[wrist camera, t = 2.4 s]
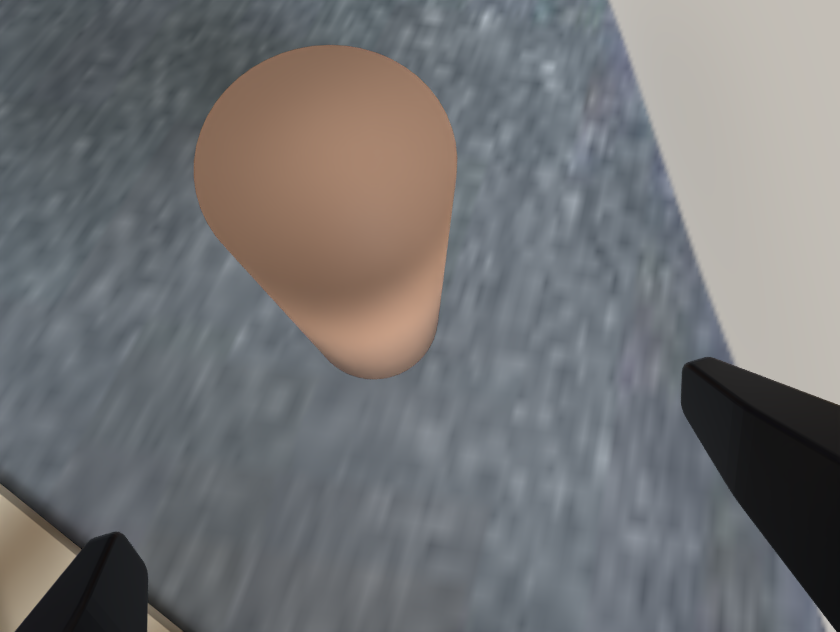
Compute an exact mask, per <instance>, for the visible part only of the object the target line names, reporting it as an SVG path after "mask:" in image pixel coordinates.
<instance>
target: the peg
mask: <svg viewBox="0 0 840 632" xmlns="http://www.w3.org/2000/svg"><path fill="white" fill-rule="evenodd" d="M456 173H457V152H456V142H455V138H454V134H453V130H452V127H451V124H450V122H449V119H448V117H447V114H446V112H445V111H444V109H443V107H442V105H441V104H440V102H439V100H438V99H437V97H436V96H435V95H434V94H433V92H432V91H431V90H430V88H429V87H428V86H427V85H426V84H425V83H424V82H423V81H422V80H421V79H420V78H419V77H418V76H416V75H415V74H414V73H412V72H411V71H410V70H408V69H407V68H406V67H404V66H402V65H401V64H399V63H397V62H396V61H394V60H392V59H390V58H388V57H385V56H383V55H380V54H378V53H375V52H372V51H368V50H365V49H361V48H356V47H350V46H340V45H320V46H310V47H304V48H299V49H294V50H291V51H288V52H284V53H281V54H279V55H276V56H274V57H272V58H269V59H267V60H265V61H263V62H261V63H260V64H258V65H256V66H254V67H253V68H251V69H250V70H248V71H247V72H246V73H244V74H243V75H242V76H240V77H239V78H238V79H237V80H236V81H235V82H233V83H232V84H231V85H230V86H229V87H228V88H227V89H226V90H225V92H224V93H223V94H222V95H221V96H220V98H219V99H218V100H217V101H216V103H215V104H214V106H213V108H212V109H211V111H210V112H209V114H208V116H207V118H206V120H205V122H204V124H203V127H202V129H201V131H200V135H199V138H198V142H197V145H196V151H195V158H194V182H195V189H196V195H197V198H198V201H199V205H200V208H201V210H202V213H203V215H204V217H205V219H206V221H207V223H208V225H209V226H210V228H211V230H212V231H213V233H214V234H215V236H216V237H217V238H218V239H219V241H220V242H221V243H222V244H223V245H224V246H225V247H226V249H227V250H228V251H229V252H230V253H231V254H232V255H233V256H234V257H235V258H236V260H237V261H238V262H239V263H240V264H241V265H242V266H243V267H244V268H245V269H246V271H247V272H248V273H249V274H250V275H251V276H252V277H253V278H254V279H255V280H256V281H257V283H258V284H259V285H260V286H261V287H262V288H263V289H264V290H265V291H266V292H267V294H268V295H269V296H270V297H271V298H272V299H273V300H274V301H275V302H276V303H277V304H278V306H279V307H280V308H281V309H282V310H283V311H284V312H285V313H286V314H287V315H288V317H289V318H290V319H291V320H292V321H293V322H294V323H295V324H296V325H297V326H298V327H299V329H300V330H301V331H302V332H303V333H304V334H305V335H306V336H307V337H308V338H309V340H310V341H311V342H312V343H313V344H314V345H315V346H316V347H317V348H318V349H319V350H320V352H321V353H322V354H323V355H324V356H325V357H326V358H327V359H328V360H329V361H330V362H331V363H332V364H333V365H334V366H335V367H337V368H338V369H340V370H342V371H343V372H345V373H347V374H350V375H352V376H355V377H359V378H364V379H383V378H388V377H392V376H395V375H398V374H400V373H402V372H404V371H406V370H408V369H409V368H411V367H412V366H414V365H415V364H416V363H417V362H418V361H419V360H420V359H421V358H422V357H423V356H424V355H425V354H426V352H427V351H428V349H429V348H430V346H431V344H432V342H433V340H434V337H435V334H436V330H437V324H438V317H439V309H440V301H441V293H442V285H443V277H444V269H445V261H446V253H447V245H448V237H449V229H450V222H451V214H452V206H453V198H454V190H455V182H456Z"/></svg>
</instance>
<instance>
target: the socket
mask: <svg viewBox="0 0 840 632" xmlns="http://www.w3.org/2000/svg"><path fill="white" fill-rule="evenodd" d="M81 550H82V549H81V548H79V547H78V546H77V545H76V544H74V543H73V542H72V541H71V540H69V539H68V538H67V537H66V536H64V535H63V534H62V533H61V532H60V531H58V530H57V529H56V528H55V527H53V526H52V525H51V524H50V523H48V522H47V521H46V520H45V519H43V518H42V517H41V516H40V515H38V514H37V513H36V512H35V511H34V510H32V509H31V508H30V507H29V506H27V505H26V504H25V503H24V502H22V501H21V500H20V499H19V498H17V497H16V496H15V495H14V494H13V493H11V492H10V491H9V490H8V489H6V488H5V487H4V486H3V485H1V484H0V632H14V631H15V630H16V629H17V628H18V627H19V625H20V624H21V623H22V622H23V620H24V619H25V618H26V617H27V616H28V614H29V613H30V612H31V611H32V609H33V608H34V607H35V606H36V605H37V603H38V602H39V601H40V600H41V598H42V597H43V596H44V595H45V594H46V592H47V591H48V590H49V589H50V587H51V586H52V585H53V584H54V583H55V581H56V580H57V579H58V578H59V576H60V575H61V574H62V573H63V572H64V570H65V569H66V568H67V567H68V565H69V564H70V563H71V562H72V561H73V559H74V558H75V557H76V556H77V555H78V553H79V552H80V551H81ZM147 632H183V631H182V630H181V629H179V628H178V627H177V626H176V625H175V624H173V623H172V622H171V621H170V620H168V619H167V618H166V617H165V616H163V615H162V614H161V613H160V612H158V611H157V610H156V609H155V608H154V607H152V606H151V605H150V604H149V603H148V622H147Z"/></svg>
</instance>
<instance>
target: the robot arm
mask: <svg viewBox="0 0 840 632" xmlns="http://www.w3.org/2000/svg"><path fill="white" fill-rule="evenodd" d="M681 406H682V410H683V413H684V415H685V417H686V419H687V420H688V422H689V424H690V425H691V427H692V429H693V430H694V432H695V433H696V435H697V437H698V438H699V440H700V442H701V443H702V445H703V447H704V448H705V450H706V452H707V453H708V455H709V457H710V458H711V460H712V462H713V463H714V465H715V467H716V468H717V470H718V472H719V473H720V475H721V477H722V478H723V480H724V482H725V483H726V485H727V486H728V488H729V489H730V491H731V493H732V494H733V496H734V497H735V498H736V500H737V501H738V503H739V504H740V505H741V507H742V508H743V509H744V511H745V512H746V513H747V515H748V516H749V517H750V519H751V520H752V521H753V523H754V524H755V525H756V527H757V528H758V529H759V530H760V532H761V533H762V534H763V536H764V537H765V538H766V540H767V541H768V542H769V544H770V545H771V546H772V548H773V549H774V550H775V551H776V553H777V554H778V555H779V557H780V558H781V559H782V561H783V562H784V563H785V565H786V566H787V567H788V569H789V570H790V571H791V572H792V574H793V575H794V576H795V578H796V579H797V580H798V582H799V583H800V584H801V586H802V587H803V588H804V590H805V591H806V592H807V593H808V595H809V596H810V597H811V599H812V600H813V601H814V603H815V604H816V605H817V607H818V608H819V609H820V611H821V612H822V613H823V614H824V616H825V617H826V618H827V620H828V621H829V622H830V624H831V625H832V626H833V628H834V629H835V630H836V632H840V405H838V404H835V403H832V402H830V401H827V400H824V399H821V398H819V397H816V396H814V395H811V394H808V393H806V392H803V391H800V390H798V389H795V388H792V387H790V386H787V385H784V384H782V383H779V382H776V381H774V380H771V379H768V378H766V377H763V376H761V375H758V374H755V373H752V372H750V371H747V370H745V369H742V368H739V367H737V366H734V365H731V364H729V363H726V362H723V361H721V360H718V359H715V358H712V357H704V358H701V359H697V360H694V361H691V362H688V363H686V364H685V365H684V366H683V368H682V383H681ZM147 622H148V573H147V569H146V566H145V564H144V562H143V560H142V559H141V557H140V556H139V555H138V553H137V552H136V551H135V549H134V548H133V546H132V545H131V544H130V542H129V541H128V539H127V538H126V537H125V536H124V534H122V533H120V532H112V533H109V534H105V535H102V536H98V537H95V538H93V539H91V540H90V541H89V542H88V543H87V544H86V545H85V546H84V547H83V548H82V550H81V551H80V552H79V553H78V555H77V556H76V557H75V558H74V559H73V561H72V562H71V563H70V564H69V565H68V567H67V568H66V569H65V570H64V572H63V573H62V574H61V575H60V576H59V578H58V579H57V580H56V581H55V583H54V584H53V585H52V586H51V587H50V589H49V590H48V591H47V592H46V594H45V595H44V596H43V597H42V598H41V600H40V601H39V602H38V603H37V605H36V606H35V607H34V608H33V609H32V611H31V612H30V613H29V614H28V616H27V617H26V618H25V619H24V620H23V622H22V623H21V624H20V625H19V627H18V628H17V629H16V630H15V631H14V632H147Z"/></svg>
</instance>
